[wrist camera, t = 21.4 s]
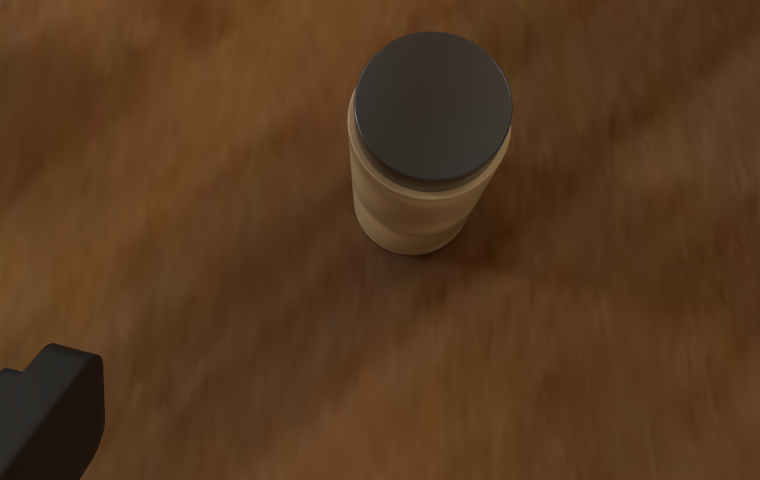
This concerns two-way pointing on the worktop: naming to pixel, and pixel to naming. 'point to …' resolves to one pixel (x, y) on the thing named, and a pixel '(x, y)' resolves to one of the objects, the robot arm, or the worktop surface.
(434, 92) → the beige jar
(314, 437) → the worktop surface
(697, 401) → the worktop surface
